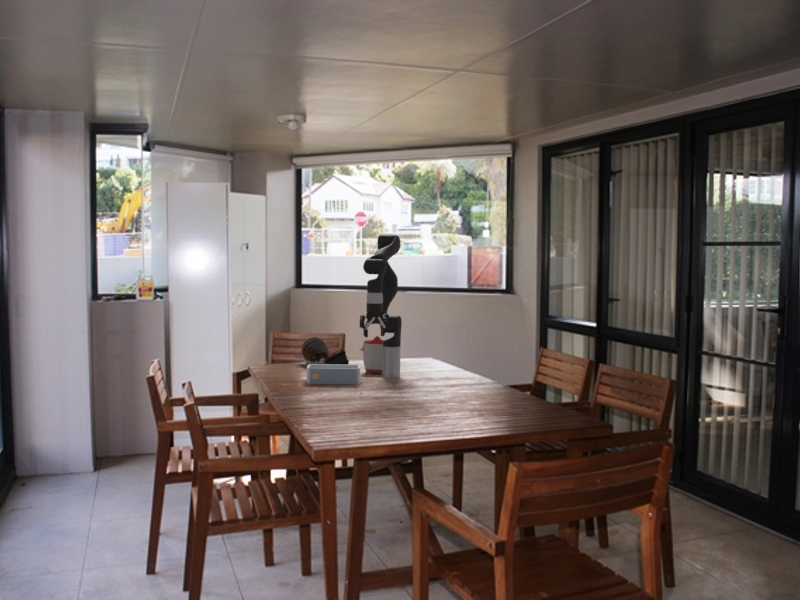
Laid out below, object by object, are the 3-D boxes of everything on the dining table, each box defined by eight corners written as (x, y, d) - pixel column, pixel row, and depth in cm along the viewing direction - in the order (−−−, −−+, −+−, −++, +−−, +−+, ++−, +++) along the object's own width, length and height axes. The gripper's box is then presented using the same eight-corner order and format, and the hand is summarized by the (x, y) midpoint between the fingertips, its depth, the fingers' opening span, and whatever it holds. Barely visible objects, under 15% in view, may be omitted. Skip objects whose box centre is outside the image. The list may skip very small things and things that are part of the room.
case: (308, 381, 370) (308, 364, 369) (360, 382, 371) (360, 364, 371) (306, 386, 358) (306, 368, 357) (359, 386, 359) (360, 368, 359)
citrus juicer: (360, 369, 410) (361, 333, 408) (391, 370, 409) (392, 334, 408) (357, 374, 394) (358, 337, 393) (390, 375, 393) (390, 338, 392)
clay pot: (311, 349, 403) (303, 335, 426) (306, 375, 406) (298, 360, 429) (337, 351, 408) (327, 337, 431) (332, 377, 411) (323, 362, 434)
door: (309, 383, 359) (309, 367, 358) (356, 383, 360) (356, 368, 359) (309, 384, 357) (309, 368, 356) (356, 384, 358) (356, 369, 357)
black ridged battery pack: (356, 374, 383) (344, 349, 380) (334, 386, 379) (322, 361, 376) (353, 373, 387) (342, 348, 383) (331, 385, 383) (320, 360, 379)
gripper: (384, 300, 349) (384, 334, 350) (357, 301, 342) (357, 336, 343) (391, 302, 342) (391, 336, 344) (364, 303, 335) (364, 338, 337)
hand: (374, 336), depth 344 cm, fingers open, 8 cm apart
